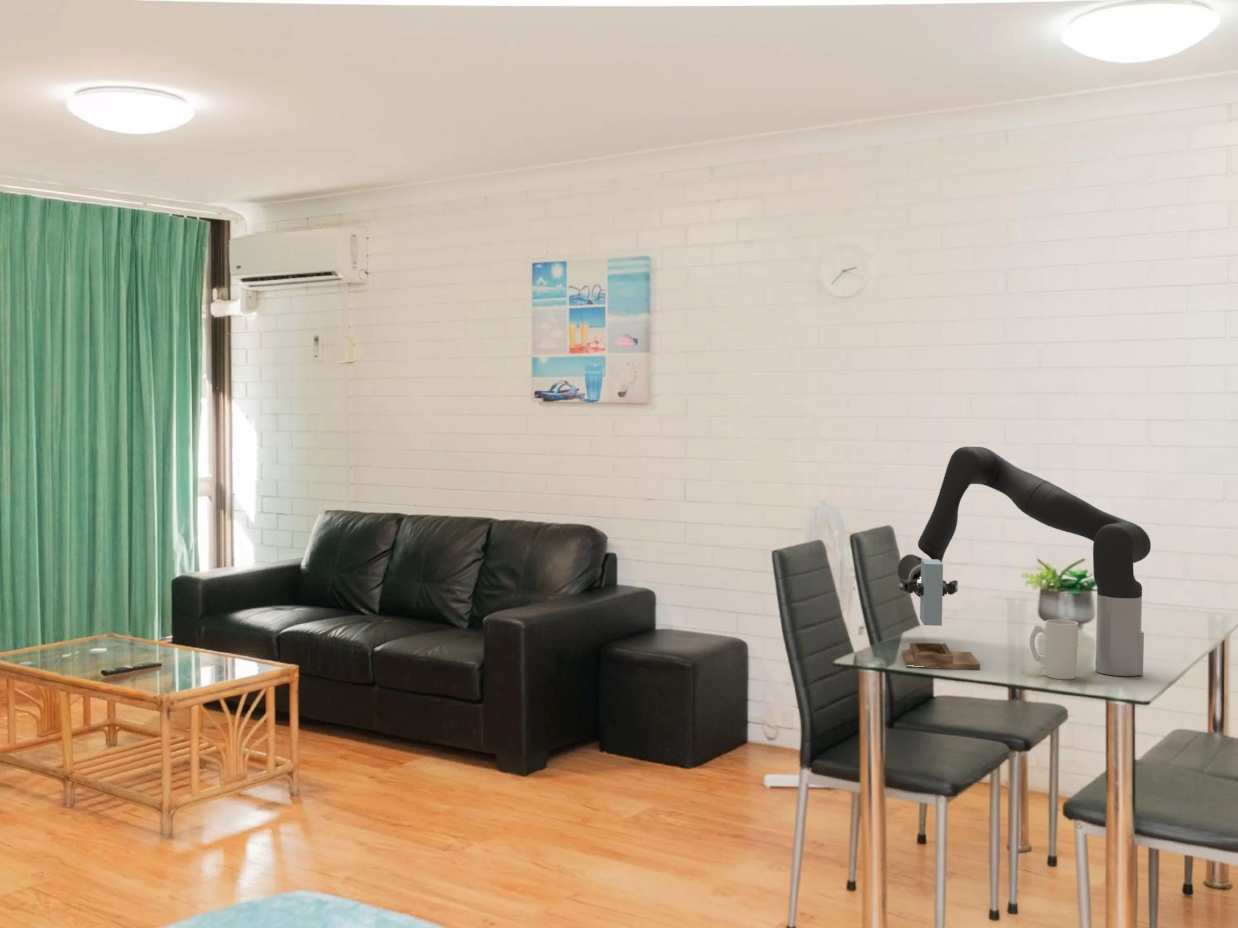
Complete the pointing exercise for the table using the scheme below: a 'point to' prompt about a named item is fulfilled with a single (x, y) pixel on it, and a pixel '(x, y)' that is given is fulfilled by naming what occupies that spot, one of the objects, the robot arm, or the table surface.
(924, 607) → the door panel
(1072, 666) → the mug
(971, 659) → the base
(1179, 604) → the table surface
